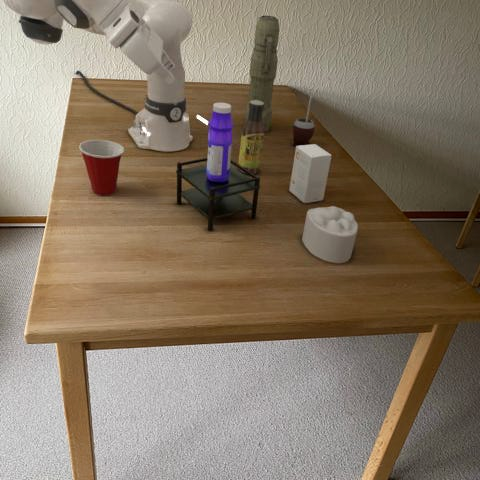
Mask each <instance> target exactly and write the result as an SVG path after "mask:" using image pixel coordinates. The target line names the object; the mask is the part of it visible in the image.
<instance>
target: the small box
mask: <svg viewBox="0 0 480 480" xmlns="http://www.w3.org/2000/svg"><path fill="white" fill-rule="evenodd" d="M332 155H333V154H331V153H329V152H328V151H326V150H325V149H323V148H321V146H319V145H318V144H316V143H313V144H306V145H296V146H295V152H294V158H293V164H292V171H291V176H290V183H289V190H288V191H289V192H290V193H291V194H292V195H294V196H295V197H296V198H297V199H298V200H299V201H300V202H302V203H303V204H308V203H309V204H310V203H314V202H322V201H323V200H324V197H325V191H326V188H327V182H328V176H329V173H330V172H329V171H330V166H331V160H332Z"/></svg>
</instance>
